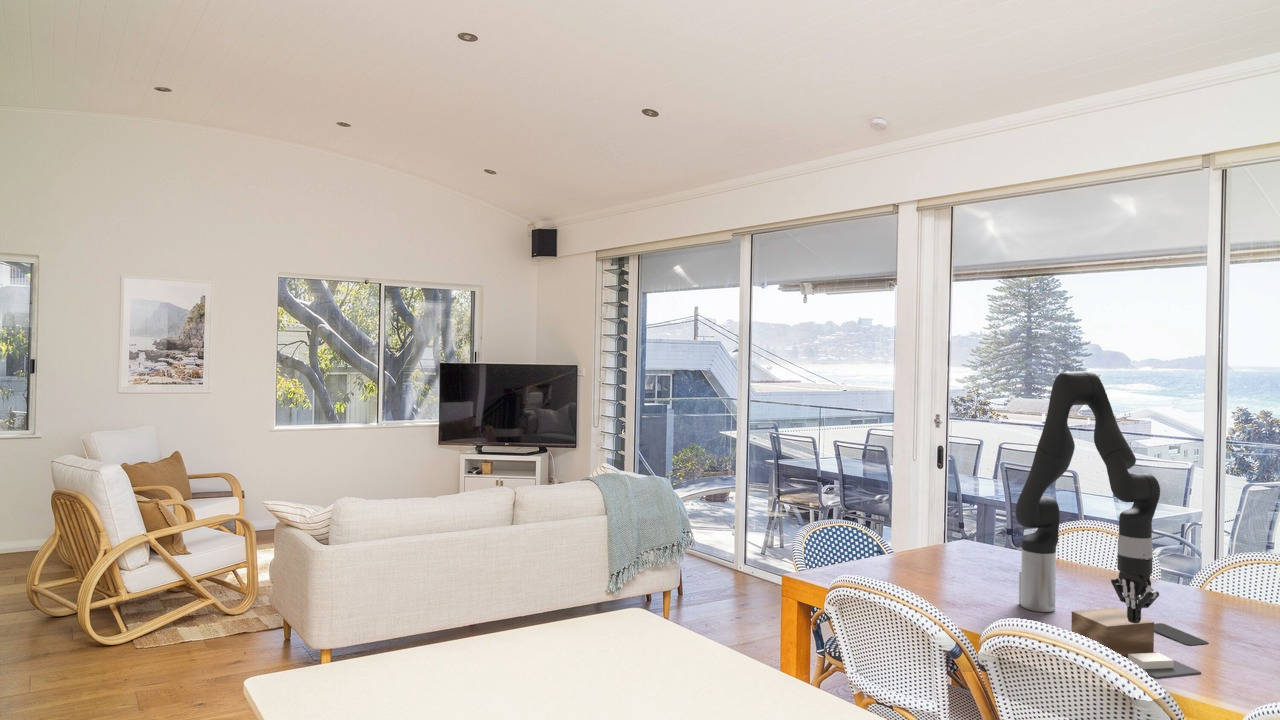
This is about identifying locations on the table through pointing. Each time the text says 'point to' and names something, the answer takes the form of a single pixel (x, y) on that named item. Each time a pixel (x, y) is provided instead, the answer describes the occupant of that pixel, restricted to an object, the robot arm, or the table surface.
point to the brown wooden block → (1115, 630)
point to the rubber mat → (1171, 670)
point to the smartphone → (1177, 635)
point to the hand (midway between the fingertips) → (1134, 622)
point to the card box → (1151, 661)
